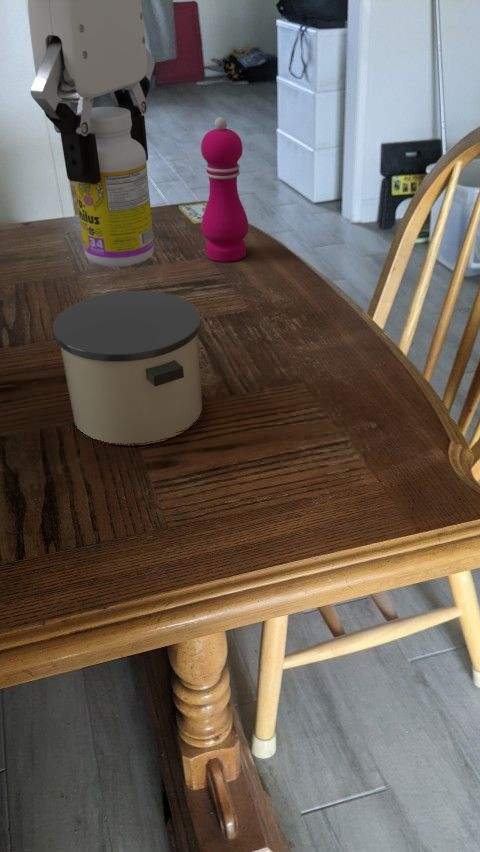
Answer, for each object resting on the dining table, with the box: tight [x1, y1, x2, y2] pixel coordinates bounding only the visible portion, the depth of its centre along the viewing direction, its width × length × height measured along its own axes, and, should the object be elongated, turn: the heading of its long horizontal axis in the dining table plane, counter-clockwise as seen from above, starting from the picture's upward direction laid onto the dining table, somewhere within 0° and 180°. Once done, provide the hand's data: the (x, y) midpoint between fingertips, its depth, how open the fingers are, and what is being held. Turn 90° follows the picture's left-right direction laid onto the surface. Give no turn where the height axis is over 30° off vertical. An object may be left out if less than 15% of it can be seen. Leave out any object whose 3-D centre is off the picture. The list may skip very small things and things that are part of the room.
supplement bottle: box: [73, 106, 155, 268], centre depth 71 cm, size 7×7×13 cm
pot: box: [52, 290, 203, 444], centre depth 82 cm, size 15×17×11 cm
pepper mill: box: [200, 116, 249, 263], centre depth 116 cm, size 7×7×20 cm
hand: (109, 168), depth 70 cm, fingers closed on supplement bottle, 6 cm apart
